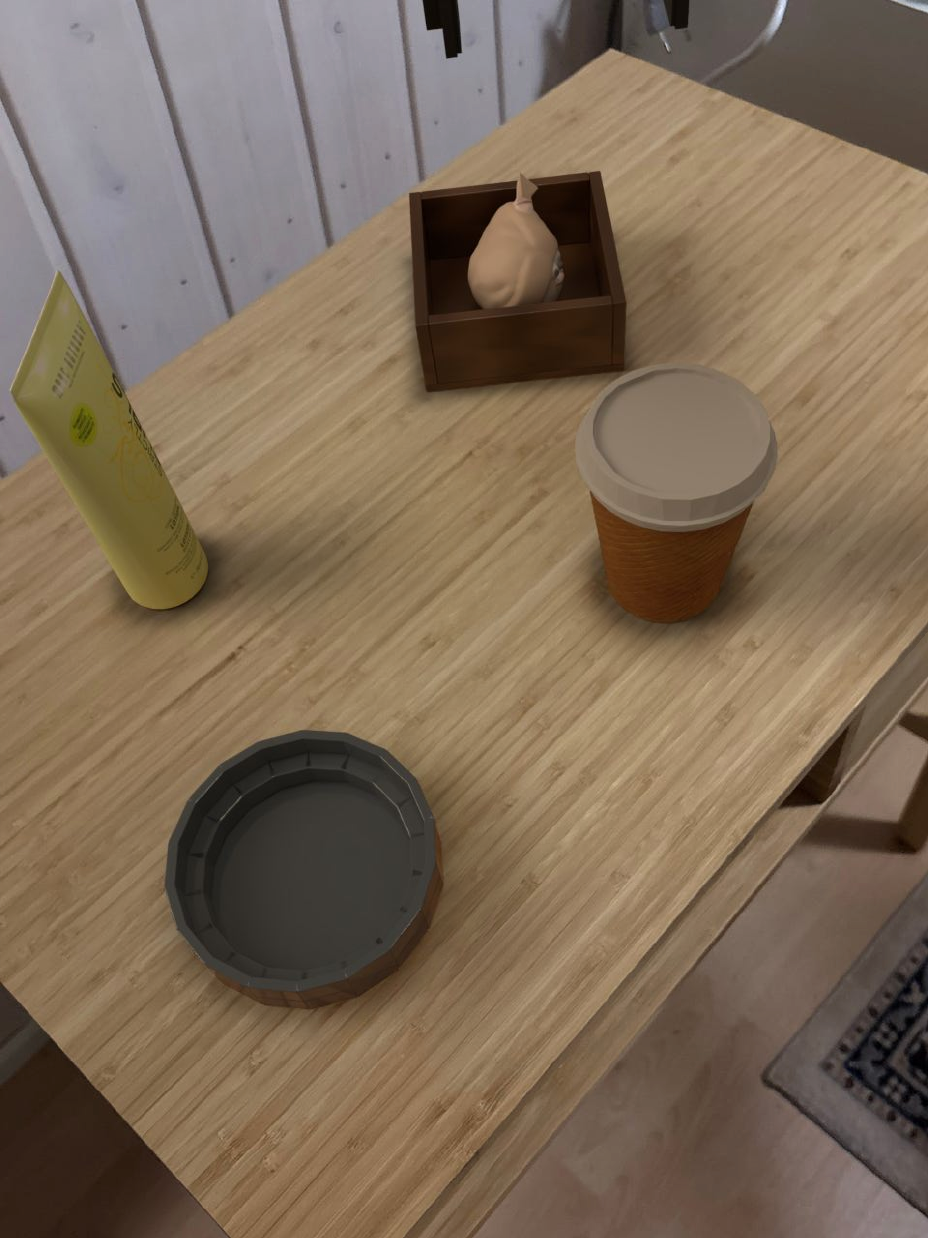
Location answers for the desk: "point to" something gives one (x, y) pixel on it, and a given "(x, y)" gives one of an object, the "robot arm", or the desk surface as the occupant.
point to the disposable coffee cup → (673, 482)
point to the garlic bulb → (516, 257)
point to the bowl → (305, 869)
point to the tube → (105, 456)
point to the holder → (526, 334)
